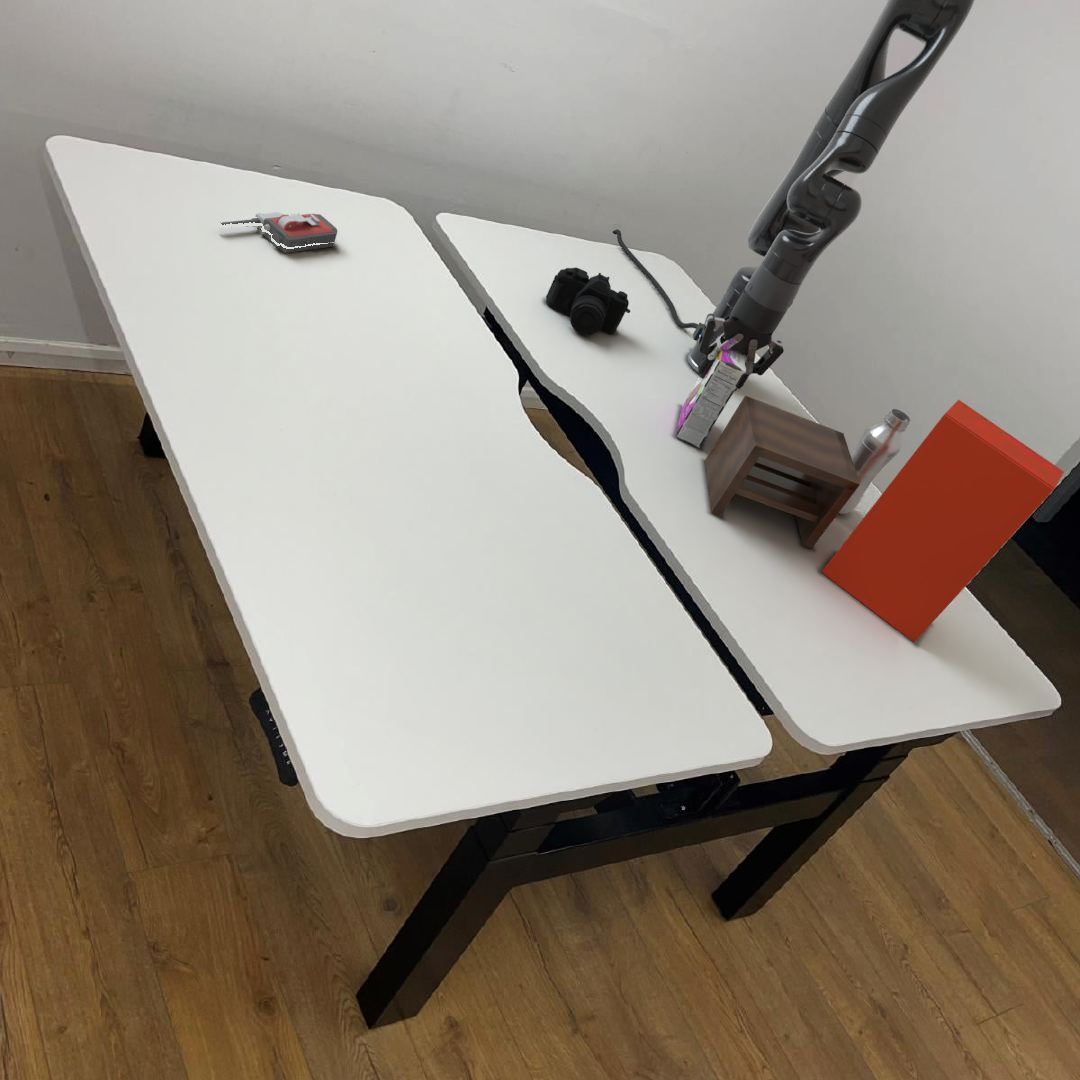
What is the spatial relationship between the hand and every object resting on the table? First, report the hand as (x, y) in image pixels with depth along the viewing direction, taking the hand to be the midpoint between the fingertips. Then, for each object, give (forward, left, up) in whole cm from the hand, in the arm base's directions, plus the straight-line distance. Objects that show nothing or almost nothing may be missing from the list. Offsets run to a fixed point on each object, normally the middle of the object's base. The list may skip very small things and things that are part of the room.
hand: (716, 381), depth 175 cm
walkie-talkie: (-11, -75, -10) cm, 76 cm away
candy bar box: (0, 0, -10) cm, 10 cm away
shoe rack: (+16, +11, -10) cm, 22 cm away
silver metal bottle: (+8, +27, -10) cm, 30 cm away
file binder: (+30, +30, -10) cm, 44 cm away
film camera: (-22, -21, -10) cm, 32 cm away
